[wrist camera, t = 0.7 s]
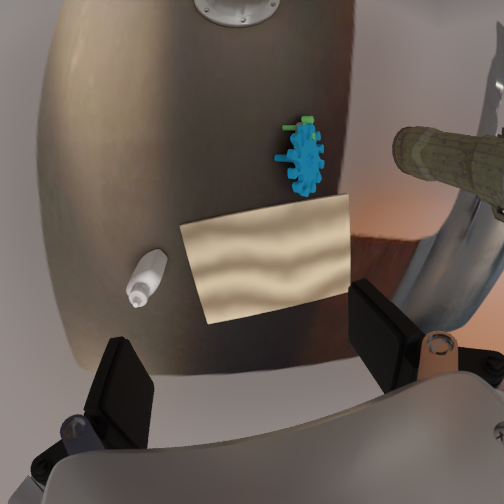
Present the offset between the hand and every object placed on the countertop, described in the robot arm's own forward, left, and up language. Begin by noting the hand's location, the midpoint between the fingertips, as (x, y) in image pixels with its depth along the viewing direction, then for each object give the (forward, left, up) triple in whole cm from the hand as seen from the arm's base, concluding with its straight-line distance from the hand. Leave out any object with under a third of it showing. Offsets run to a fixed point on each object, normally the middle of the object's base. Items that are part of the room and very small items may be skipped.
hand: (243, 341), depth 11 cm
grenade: (-2, +34, -31) cm, 46 cm away
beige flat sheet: (+13, +7, -31) cm, 34 cm away
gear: (-3, +12, -32) cm, 34 cm away
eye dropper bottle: (+9, -12, -31) cm, 35 cm away
